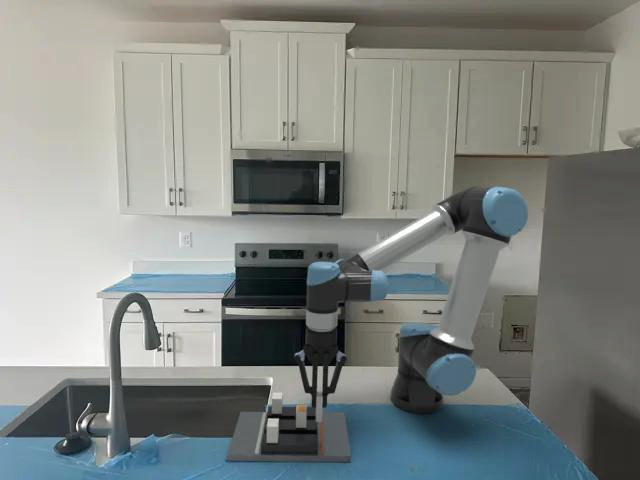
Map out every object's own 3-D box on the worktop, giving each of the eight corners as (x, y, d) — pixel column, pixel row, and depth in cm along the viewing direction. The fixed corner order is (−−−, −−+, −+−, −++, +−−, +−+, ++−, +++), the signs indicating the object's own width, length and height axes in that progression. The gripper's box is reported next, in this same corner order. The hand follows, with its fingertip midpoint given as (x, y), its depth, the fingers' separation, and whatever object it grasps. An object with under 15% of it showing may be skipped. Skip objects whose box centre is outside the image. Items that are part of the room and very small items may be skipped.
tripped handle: (306, 420, 111) (306, 404, 111) (306, 427, 108) (306, 411, 107) (296, 420, 111) (296, 404, 111) (295, 427, 108) (296, 411, 107)
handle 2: (278, 434, 105) (278, 418, 104) (277, 443, 101) (277, 426, 101) (268, 434, 105) (268, 418, 104) (266, 442, 101) (266, 426, 101)
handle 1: (282, 406, 118) (282, 392, 117) (281, 413, 114) (281, 399, 114) (273, 406, 118) (273, 392, 117) (271, 413, 114) (271, 398, 114)
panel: (344, 418, 120) (344, 405, 119) (350, 462, 101) (351, 447, 101) (240, 416, 119) (240, 404, 119) (227, 461, 100) (227, 446, 100)
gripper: (347, 322, 110) (343, 411, 113) (294, 321, 110) (293, 410, 113) (349, 332, 103) (346, 427, 106) (293, 331, 103) (291, 426, 106)
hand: (318, 418), depth 110 cm, fingers closed
